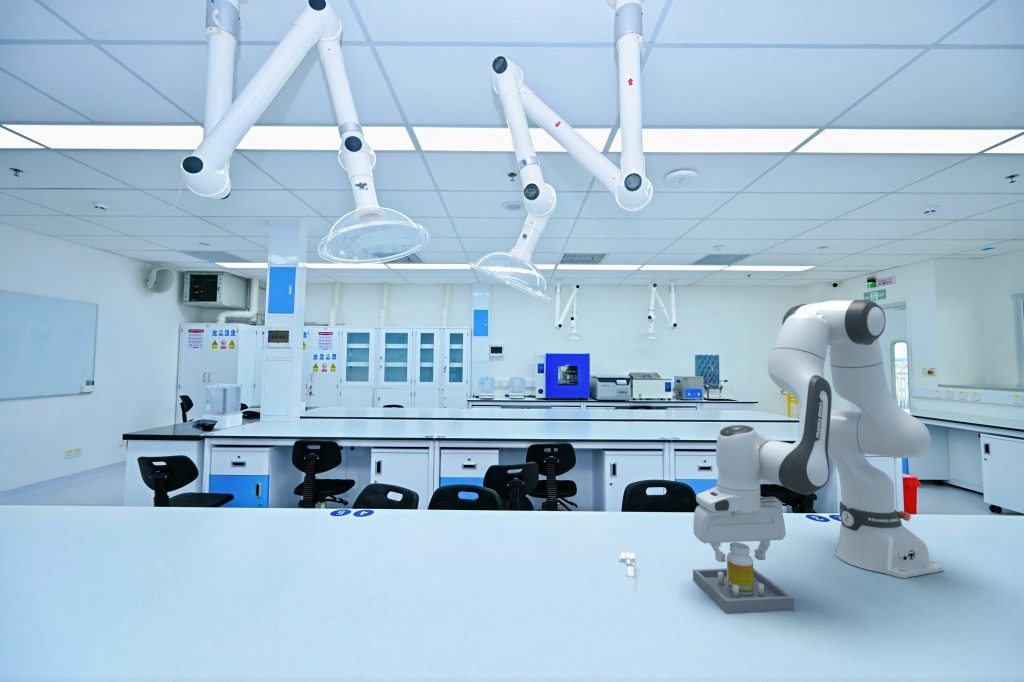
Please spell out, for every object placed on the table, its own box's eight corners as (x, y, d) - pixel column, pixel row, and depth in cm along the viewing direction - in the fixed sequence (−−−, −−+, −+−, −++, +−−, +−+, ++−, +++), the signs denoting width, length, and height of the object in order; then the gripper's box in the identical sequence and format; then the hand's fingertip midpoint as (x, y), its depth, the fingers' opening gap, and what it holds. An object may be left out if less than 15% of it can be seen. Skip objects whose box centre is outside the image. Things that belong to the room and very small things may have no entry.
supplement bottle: (757, 597, 96) (756, 551, 97) (731, 594, 97) (730, 549, 98) (749, 585, 101) (748, 541, 102) (724, 582, 102) (723, 540, 103)
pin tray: (752, 577, 107) (752, 563, 107) (794, 610, 93) (793, 593, 93) (693, 580, 106) (692, 565, 106) (726, 613, 92) (726, 596, 92)
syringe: (645, 595, 99) (645, 588, 99) (624, 593, 100) (624, 586, 100) (636, 557, 119) (636, 551, 119) (618, 555, 120) (618, 549, 120)
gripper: (772, 492, 105) (774, 551, 104) (689, 495, 103) (690, 555, 102) (791, 500, 98) (793, 564, 98) (703, 504, 97) (705, 568, 96)
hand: (740, 559), depth 100 cm, fingers open, 8 cm apart
